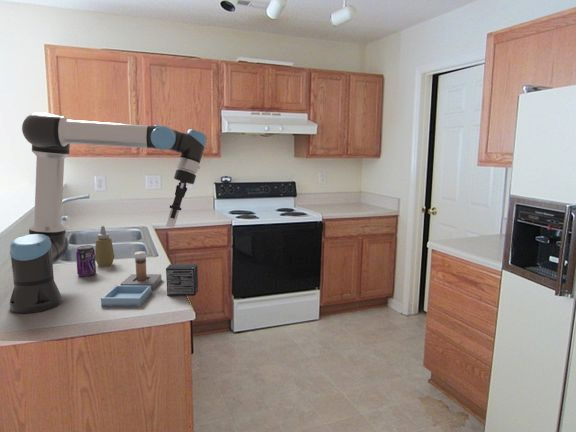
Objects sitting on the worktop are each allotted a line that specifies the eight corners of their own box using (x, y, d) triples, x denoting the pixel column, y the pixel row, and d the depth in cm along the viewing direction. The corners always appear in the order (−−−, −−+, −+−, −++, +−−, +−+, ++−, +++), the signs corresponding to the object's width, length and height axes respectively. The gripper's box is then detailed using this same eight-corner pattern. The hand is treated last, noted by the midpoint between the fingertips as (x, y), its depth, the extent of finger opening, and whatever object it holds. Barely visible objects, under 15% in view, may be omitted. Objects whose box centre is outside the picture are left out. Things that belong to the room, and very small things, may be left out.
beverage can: (87, 278, 173) (85, 249, 171) (73, 276, 175) (71, 248, 173) (100, 273, 180) (98, 245, 178) (86, 271, 182) (84, 244, 180)
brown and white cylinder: (134, 286, 163) (132, 254, 161) (138, 283, 167) (136, 251, 165) (145, 286, 163) (144, 254, 161) (148, 283, 168) (147, 251, 165)
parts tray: (101, 306, 143) (100, 298, 143) (115, 293, 156) (115, 285, 155) (140, 306, 143) (139, 298, 143) (151, 293, 156) (151, 285, 156)
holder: (120, 290, 159) (120, 284, 159) (131, 280, 171) (131, 274, 171) (152, 290, 160) (152, 284, 159) (161, 280, 171) (161, 274, 171)
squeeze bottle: (91, 266, 189) (88, 227, 186) (104, 262, 197) (102, 224, 194) (106, 268, 186) (103, 228, 183) (118, 263, 194) (116, 225, 191)
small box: (198, 290, 160) (198, 263, 159) (195, 296, 154) (195, 268, 152) (170, 290, 160) (169, 263, 158) (166, 296, 154) (165, 268, 152)
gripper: (197, 171, 146) (180, 230, 145) (195, 176, 171) (180, 227, 170) (175, 165, 145) (158, 224, 144) (177, 171, 169) (162, 222, 168)
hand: (170, 226), depth 157 cm, fingers open, 13 cm apart
